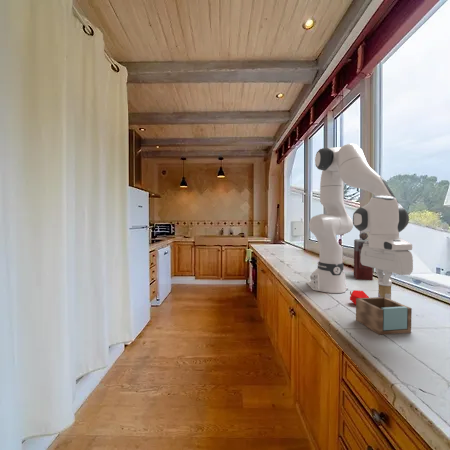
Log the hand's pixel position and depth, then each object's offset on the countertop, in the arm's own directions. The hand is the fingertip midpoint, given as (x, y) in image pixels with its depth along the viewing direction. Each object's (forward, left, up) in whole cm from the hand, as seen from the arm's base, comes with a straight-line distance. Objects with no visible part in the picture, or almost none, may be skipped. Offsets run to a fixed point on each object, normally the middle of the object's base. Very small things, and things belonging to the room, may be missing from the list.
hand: (383, 282), depth 90 cm
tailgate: (+6, 0, -14) cm, 15 cm away
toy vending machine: (-63, +38, -15) cm, 75 cm away
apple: (-21, +6, -15) cm, 27 cm away
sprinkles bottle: (-10, +9, -15) cm, 21 cm away
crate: (0, 0, -15) cm, 15 cm away
